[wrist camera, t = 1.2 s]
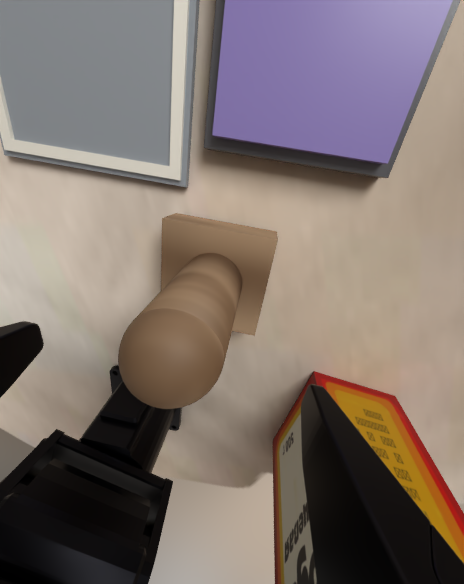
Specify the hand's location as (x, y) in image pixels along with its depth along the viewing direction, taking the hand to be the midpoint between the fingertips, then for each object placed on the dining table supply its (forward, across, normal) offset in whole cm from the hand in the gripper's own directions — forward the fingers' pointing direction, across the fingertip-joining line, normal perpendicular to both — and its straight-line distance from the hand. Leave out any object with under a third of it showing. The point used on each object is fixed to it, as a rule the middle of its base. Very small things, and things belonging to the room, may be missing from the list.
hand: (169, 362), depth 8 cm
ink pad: (+9, -3, -11) cm, 14 cm away
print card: (+9, +8, -10) cm, 16 cm away
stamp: (+9, 0, 0) cm, 9 cm away
